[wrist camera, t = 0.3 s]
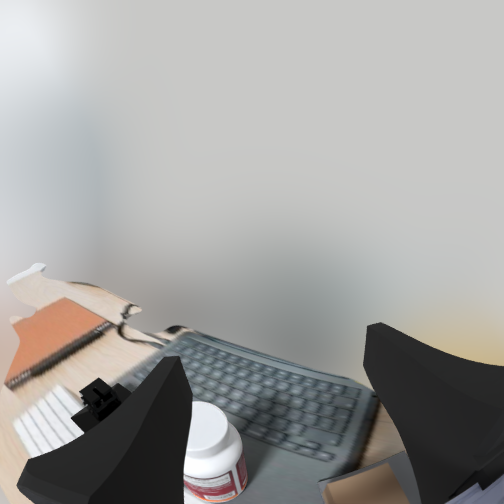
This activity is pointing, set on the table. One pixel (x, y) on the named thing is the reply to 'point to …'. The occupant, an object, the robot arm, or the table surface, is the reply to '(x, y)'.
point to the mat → (401, 471)
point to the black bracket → (99, 403)
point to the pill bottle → (214, 456)
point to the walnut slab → (367, 488)
